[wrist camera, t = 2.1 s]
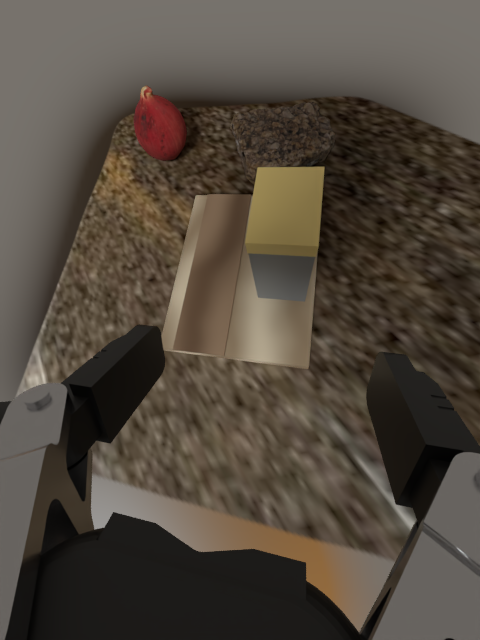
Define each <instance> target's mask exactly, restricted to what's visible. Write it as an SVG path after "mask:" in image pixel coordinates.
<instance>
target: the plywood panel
mask: <svg viewBox="0 0 480 640" xmlns="http://www.w3.org/2000/svg"><path fill="white" fill-rule="evenodd" d="M252 198H253V196H252V195H251V194H208V195H196V197H195V201H194V206H193V210H192V214H191V218H190V222H189V226H188V230H187V234H186V238H185V243H184V247H183V251H182V255H181V259H180V263H179V267H178V271H177V275H176V279H175V284H174V288H173V292H172V296H171V300H170V304H169V308H168V312H167V316H166V321H165V325H164V329H163V333H162V337H161V338H162V344H163V350H165V351H173V352H181V353H188V354H196V355H204V356H211V357H219V358H227V359H234V360H242V361H250V362H257V363H265V364H273V365H280V366H288V367H295V368H303V369H308V368H309V359H310V346H311V333H312V319H313V306H314V293H315V280H316V266H317V255H316V257H315V260H314V264H313V269H312V273H311V277H310V282H309V286H308V290H307V295H306V299H305V302H303V301H291V300H280V299H268V298H258V295H257V291H256V286H255V282H254V277H253V273H252V268H251V263H250V259H249V254H248V253H247V250H246V245H245V240H246V234H247V228H248V222H249V216H250V210H251V204H252ZM317 253H318V251H317Z"/></svg>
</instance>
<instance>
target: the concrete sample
mask: <svg viewBox="0 0 480 640" xmlns="http://www.w3.org/2000/svg"><path fill="white" fill-rule="evenodd" d="M319 109H320V108H319V106H318V105H317V104H315V103H314V102H312V103H311V102H309V103H306V102H304V103H300V104H298V103H297V104H296V105H295V106H293V107H291V108H289V107H283V106H282V107H280V108H277V109H269V108H266V109H257V110H255V109H254V110H251V111H250V112H247V113H246V114H240V113H237V114H236V115H235V116H234V117H233V120H232V123H231V125H230V128H231V129H232V130H233V132H232V133H233V134H234V136H235V142H236V145H237V147H238V148H237V151H238V153H239V154H240V157H241V160H242V163H243V166H244V170H245V177H246V178H247V179H248V180H249V181H250V182H251V183H253V184H255V180H256V174H257V168H258V167H311V166H312V165H314V164H316V163H317V162H323V161H325V159H326V157H327V155H328V154H329V152H330V150H331V148H332V147H334V143H335V133H334V132H333V131H332V128H331V126H330V119H328V118H326V117H323V116H321V115H320V113H319Z"/></svg>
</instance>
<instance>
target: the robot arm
mask: <svg viewBox="0 0 480 640" xmlns="http://www.w3.org/2000/svg"><path fill="white" fill-rule="evenodd" d="M164 367H165V356H164V350H163V344H162V338H161V332H160V329H159V328H158V327H156V326H147V325H137V326H135V327H134V328H133V329H132V330H131V331H129V332H128V333H127V334H126V335H124V336H122V337H120V338H118V339H116V340H114V341H112V342H110V343H109V344H108V345H107V346H105V347H104V348H103V349H102V350H101V352H100V351H99V352H98V353H97V354H96V355H94V356H93V359H92V358H91V359H90V360H88V361H87V362H86V363H85V364H84V365H82V366H81V367H80V368H79V369H78V370H76V371H75V372H74V373H73V374H72V375H70V376H69V377H68V378H67V379H65V380H64V381H63V382H62V383H61V384H60V383H47V384H42V385H39V386H36V387H33V388H31V389H29V390H27V391H25V392H23V393H22V394H20V395H19V396H17V397H16V398H15V399H14V400H13V401H8V402H0V640H480V446H479V445H478V443H477V442H476V440H475V439H474V437H473V436H472V434H471V433H470V431H469V430H468V428H467V427H466V425H465V424H464V422H463V421H462V419H461V418H460V416H459V415H458V413H457V412H456V411H454V407H453V406H452V404H451V403H450V401H449V400H447V399H446V395H445V394H444V393H443V391H442V390H441V388H440V387H439V385H438V384H437V383H436V382H435V381H434V380H432V379H431V378H430V377H429V376H427V375H426V374H425V373H424V372H419V371H416V370H415V368H414V367H413V365H412V363H411V362H410V360H409V358H408V357H407V356H406V355H404V354H395V353H386V352H379V353H378V355H377V357H376V360H375V363H374V367H373V370H372V374H371V377H370V380H369V384H368V387H367V395H366V398H367V406H368V409H369V413H370V416H371V420H372V423H373V427H374V430H375V434H376V437H377V441H378V444H379V447H380V451H381V454H382V458H383V461H384V465H385V468H386V472H387V475H388V479H389V482H390V485H391V489H392V492H393V496H394V499H395V503H396V504H397V505H401V506H406V507H411V508H413V510H414V513H415V516H416V519H417V520H416V522H415V524H414V525H413V527H412V529H411V531H410V533H409V535H408V537H407V540H406V542H405V544H404V546H403V548H402V550H401V552H400V554H399V556H398V558H397V560H396V562H395V564H394V566H393V568H392V570H391V572H390V574H389V576H388V578H387V580H386V582H385V584H384V586H383V588H382V590H381V592H380V594H379V596H378V597H377V600H376V601H375V603H374V605H373V607H372V608H371V610H370V612H369V614H368V616H367V618H366V620H365V622H364V624H363V626H362V628H361V630H360V632H358V631H357V629H356V628H355V627H354V626H353V624H352V623H351V622H350V621H349V619H348V618H347V617H346V616H345V614H344V613H343V612H342V611H341V610H340V609H339V608H338V607H337V606H336V605H335V604H334V603H333V602H332V601H331V600H330V599H329V598H328V597H327V596H326V595H325V594H324V593H322V592H321V591H320V590H318V588H316V587H315V586H313V585H312V584H310V583H309V582H307V581H306V563H305V562H301V561H297V560H293V559H290V558H286V557H282V556H278V555H274V554H271V553H267V552H263V551H259V550H255V549H248V550H247V549H246V550H232V551H231V550H230V551H214V552H198V551H196V550H194V549H192V548H191V547H189V546H188V545H186V544H185V543H183V542H182V541H180V540H179V539H178V538H176V537H175V536H173V535H172V534H170V533H169V532H168V531H166V530H165V529H163V528H162V527H160V526H159V525H157V524H156V523H153V522H149V521H145V520H141V519H137V518H133V517H130V516H126V515H122V514H118V513H114V512H113V514H112V516H111V517H110V519H109V521H108V523H107V524H106V526H105V528H101V529H96V530H94V525H93V521H92V516H91V485H92V450H91V446H92V445H93V444H94V443H95V441H101V442H106V443H111V442H112V441H113V439H114V438H115V437H116V435H117V434H118V433H119V431H120V430H121V429H122V427H123V426H124V425H125V423H126V422H127V420H128V419H129V418H130V416H131V415H132V414H133V412H134V411H135V410H136V408H137V407H138V406H139V404H140V403H141V402H142V400H143V399H144V397H145V396H146V395H147V393H148V392H149V391H150V389H151V388H152V387H153V385H154V384H155V383H156V381H157V380H158V379H159V377H160V376H161V374H162V373H163V370H164Z"/></svg>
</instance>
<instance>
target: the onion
mask: <svg viewBox="0 0 480 640" xmlns="http://www.w3.org/2000/svg"><path fill="white" fill-rule="evenodd" d="M140 96H141V97H140V101H139V102H138V104H137V107H136V111H135V115H134V127H135V133H136V136H137V139H138V141H139V143H140V144H141V146H142V147H143V149H144V150H145V151H146V152H147V153H148V154H149V155H150V156H152V157H153V158H156V159H159V160H163V161H166V160H174V159H176V158H177V156H178V155H179V154H180V152H181V151H182V149H183V148H184V146H185V142H186V135H187V130H186V125H185V122H184V119H183V117H182V115H181V113H180V111H179V110H178V109H177V108H176V107H175V106H174V105H173V104H172V103H171V102H169V101H168V100H167V99H165V98H163V97H161V96H157V95H153V94H152V90H151V88H150V87H148V86H145V87H143V88H142V90H141V95H140Z"/></svg>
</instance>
